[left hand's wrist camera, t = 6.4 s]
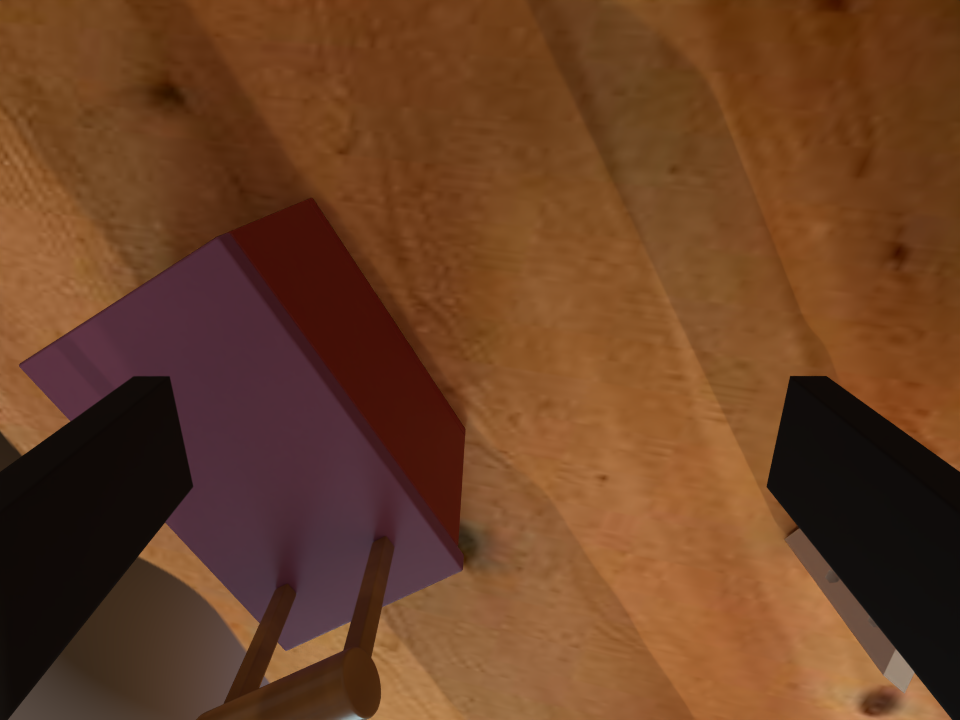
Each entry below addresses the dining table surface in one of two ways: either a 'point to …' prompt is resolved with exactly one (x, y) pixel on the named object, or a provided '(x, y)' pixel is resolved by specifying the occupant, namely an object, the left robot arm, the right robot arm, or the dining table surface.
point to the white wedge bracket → (852, 612)
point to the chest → (361, 349)
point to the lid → (265, 474)
